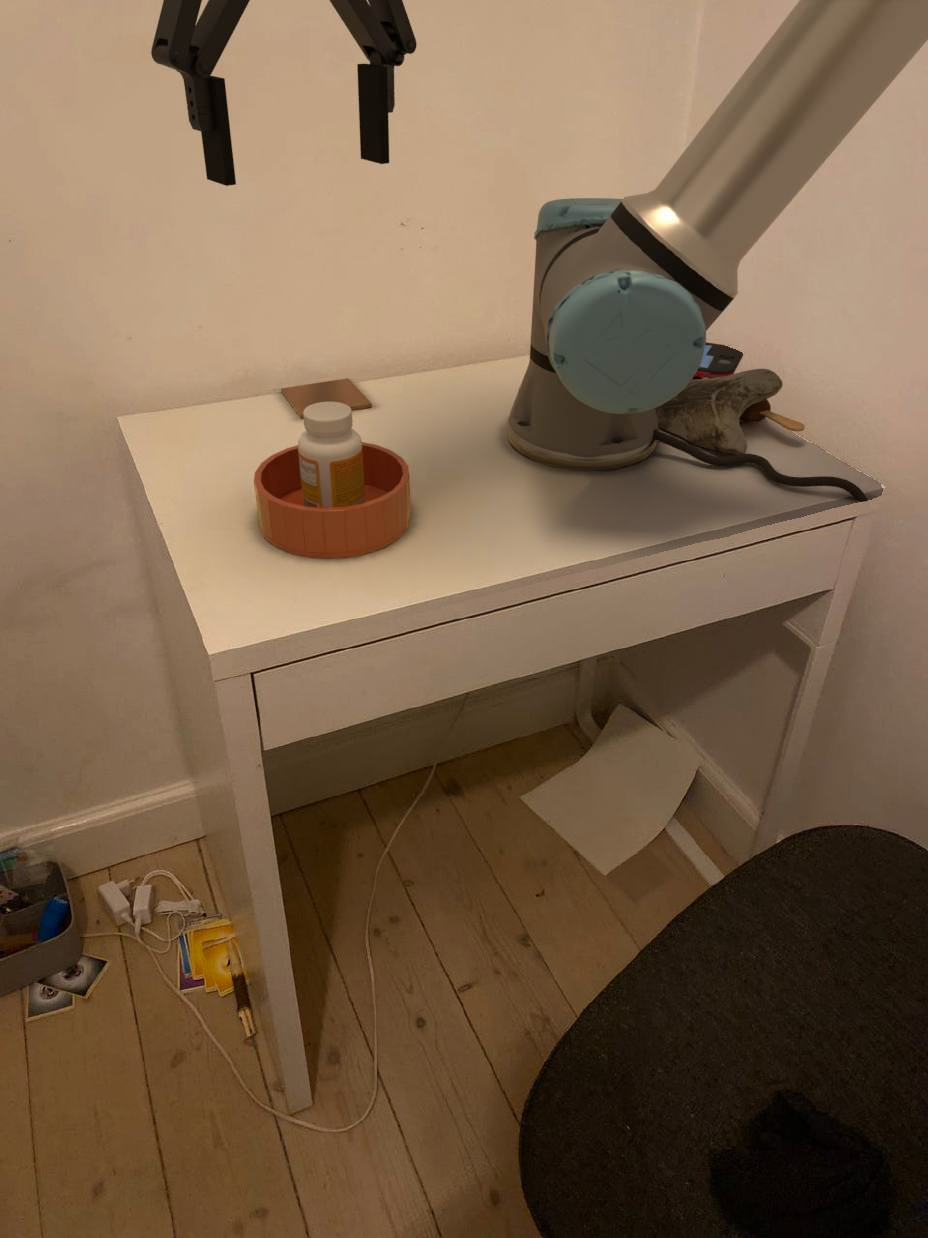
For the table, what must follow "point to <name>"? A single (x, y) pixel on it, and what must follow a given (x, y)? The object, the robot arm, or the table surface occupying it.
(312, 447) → the supplement bottle
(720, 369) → the game console
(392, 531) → the terracotta planter dish
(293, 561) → the table surface
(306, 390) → the coaster
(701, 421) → the fossil
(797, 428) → the ice cream bar
